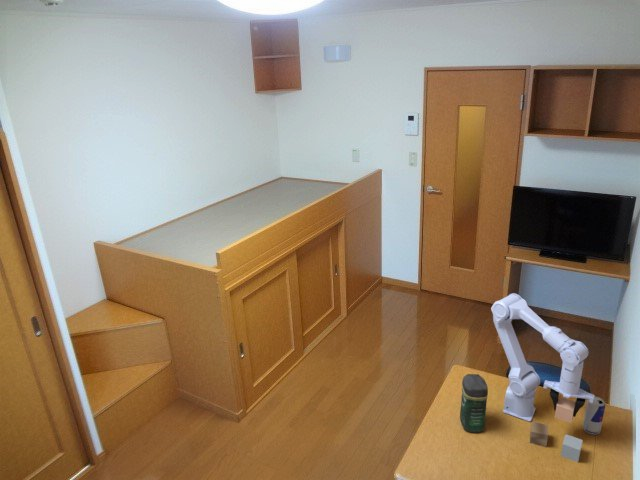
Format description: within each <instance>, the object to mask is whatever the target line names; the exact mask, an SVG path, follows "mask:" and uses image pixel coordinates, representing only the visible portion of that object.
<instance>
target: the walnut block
mask: <svg viewBox="0 0 640 480" xmlns="http://www.w3.org/2000/svg"><path fill="white" fill-rule="evenodd" d="M530 427H531V428H530V435H529V444H533V445H537V446H539V447H544V448H547V445H548V438H549V425H548V424H546V423H540V422H537V421H532V420H531V426H530Z"/></svg>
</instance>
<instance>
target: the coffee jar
mask: <svg viewBox="0 0 640 480" xmlns="http://www.w3.org/2000/svg"><path fill="white" fill-rule="evenodd" d="M488 392H489V387H488V384H487V382H486V380H485V378H483V376H481V375H480V374H478V373H477V374H476V373H470V374H469V373H467V374H465V376H463V378H462V383H461V402H460V411H459V419H460V420H459V421H460V423H461V426H462V428H463V429H464V431H467V432H470V433H481V432H482V431H484V430H485V426H486V412H487V404H488V403H487V402H488V401H487V400H488V394H489V393H488Z"/></svg>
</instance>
